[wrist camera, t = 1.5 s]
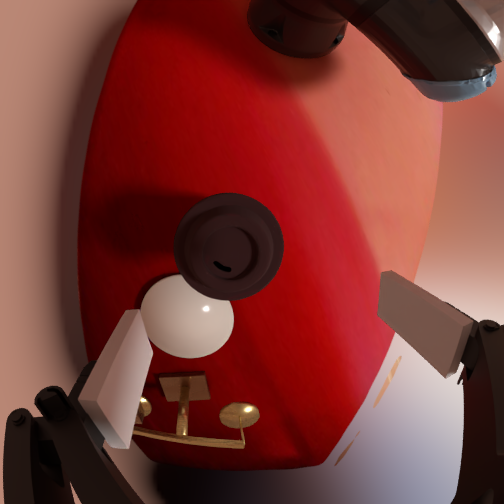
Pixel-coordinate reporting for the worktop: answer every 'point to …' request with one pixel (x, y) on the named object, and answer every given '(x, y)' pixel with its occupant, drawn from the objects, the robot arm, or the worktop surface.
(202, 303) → the saucer
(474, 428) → the robot arm
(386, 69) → the worktop surface
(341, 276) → the worktop surface
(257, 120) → the worktop surface
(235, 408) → the balance
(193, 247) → the coffee cup
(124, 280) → the worktop surface
